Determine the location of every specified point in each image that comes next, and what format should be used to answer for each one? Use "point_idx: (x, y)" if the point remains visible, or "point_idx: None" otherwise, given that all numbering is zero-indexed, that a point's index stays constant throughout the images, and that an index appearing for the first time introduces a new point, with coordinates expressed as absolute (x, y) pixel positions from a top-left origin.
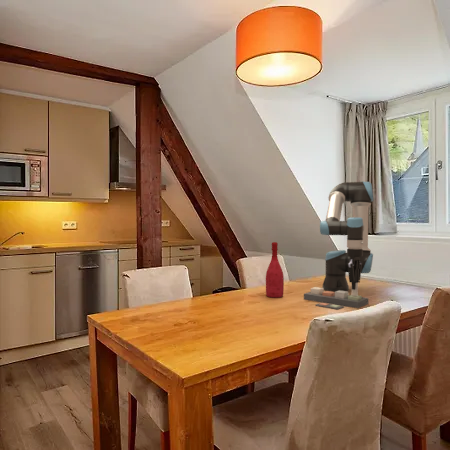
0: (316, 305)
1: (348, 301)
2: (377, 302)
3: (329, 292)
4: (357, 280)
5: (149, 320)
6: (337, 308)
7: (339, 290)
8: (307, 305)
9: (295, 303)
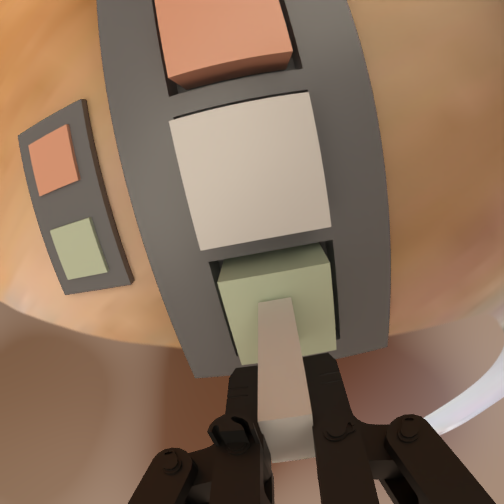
0: (21, 143)
1: (170, 309)
2: (444, 321)
3: (206, 25)
4: (319, 480)
5: None
6: (64, 292)
7: (302, 99)
8: (5, 103)
9: (2, 36)
